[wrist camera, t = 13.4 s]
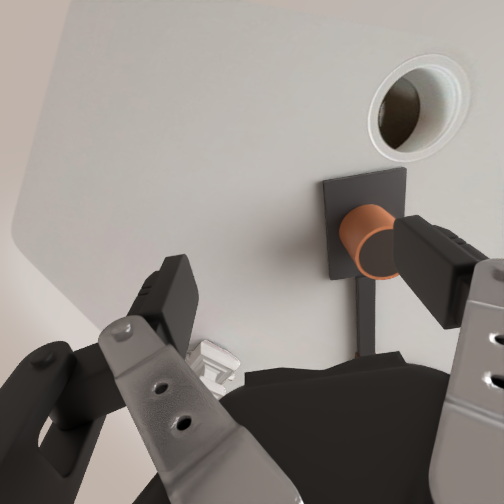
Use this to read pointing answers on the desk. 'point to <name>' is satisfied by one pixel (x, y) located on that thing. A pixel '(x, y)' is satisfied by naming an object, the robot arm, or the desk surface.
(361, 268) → the copper pot
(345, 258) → the spatula
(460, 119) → the desk surface
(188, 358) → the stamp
